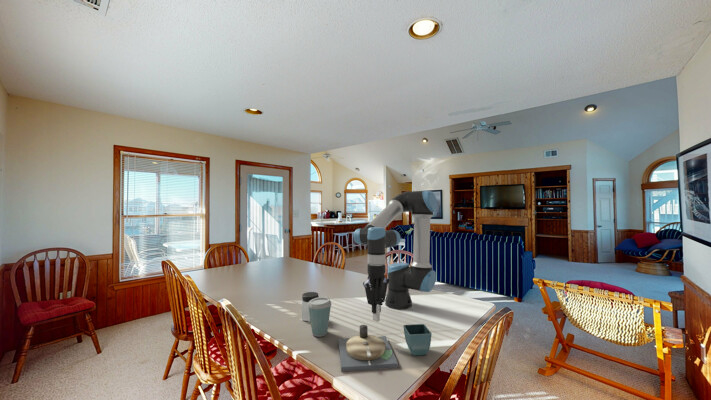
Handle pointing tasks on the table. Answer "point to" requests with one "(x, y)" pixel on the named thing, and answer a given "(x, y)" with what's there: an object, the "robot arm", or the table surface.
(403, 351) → the table surface
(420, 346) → the flower pot
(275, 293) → the table surface
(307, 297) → the jar
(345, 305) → the table surface
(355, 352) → the dial
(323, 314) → the disposable coffee cup
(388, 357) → the tuner base
